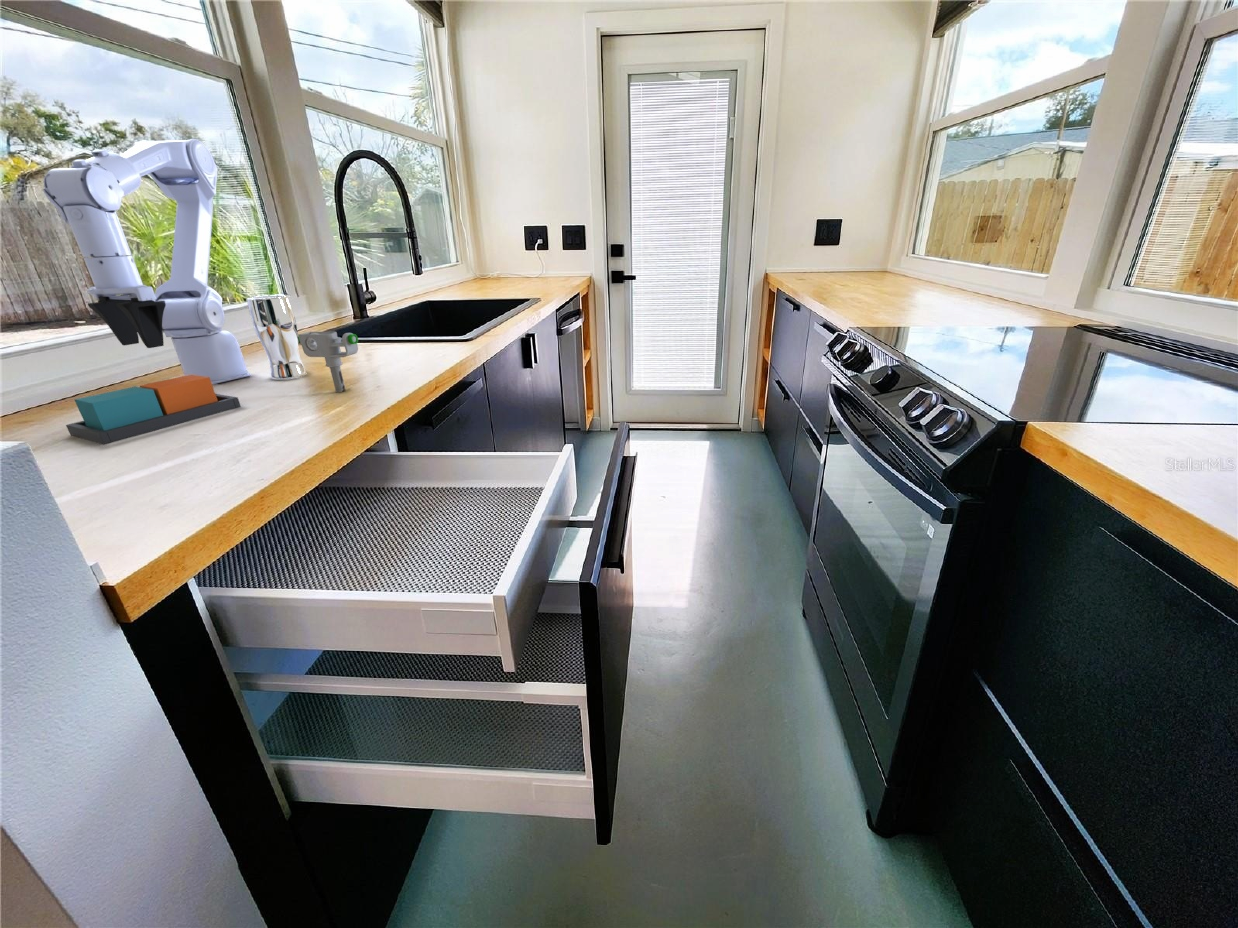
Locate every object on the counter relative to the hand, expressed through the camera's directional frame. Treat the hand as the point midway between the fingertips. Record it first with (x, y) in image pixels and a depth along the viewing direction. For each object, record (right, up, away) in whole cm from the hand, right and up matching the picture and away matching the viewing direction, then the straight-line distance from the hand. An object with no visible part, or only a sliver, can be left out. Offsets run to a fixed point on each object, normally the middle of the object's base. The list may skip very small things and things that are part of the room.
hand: (143, 345), depth 87 cm
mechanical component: (+30, -7, +5) cm, 31 cm away
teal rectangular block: (+8, -14, -11) cm, 20 cm away
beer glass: (+14, -2, +17) cm, 22 cm away
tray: (+10, -13, -8) cm, 18 cm away
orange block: (+12, -12, -5) cm, 17 cm away
